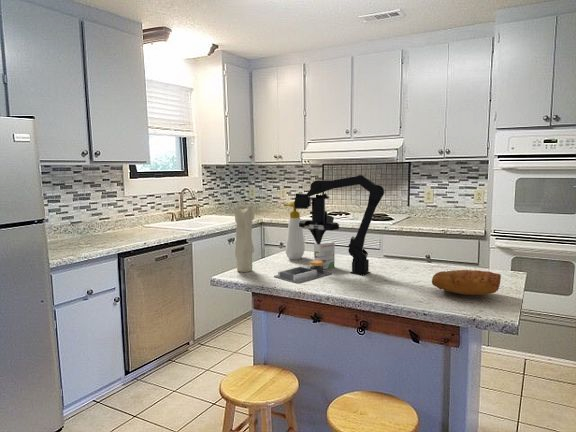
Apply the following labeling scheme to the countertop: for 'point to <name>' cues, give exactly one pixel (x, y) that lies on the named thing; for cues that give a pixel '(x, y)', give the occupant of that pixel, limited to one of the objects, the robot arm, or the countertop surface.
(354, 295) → the countertop surface
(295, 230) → the soap bottle
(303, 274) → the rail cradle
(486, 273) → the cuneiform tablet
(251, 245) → the vase
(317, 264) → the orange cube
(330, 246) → the ink box
